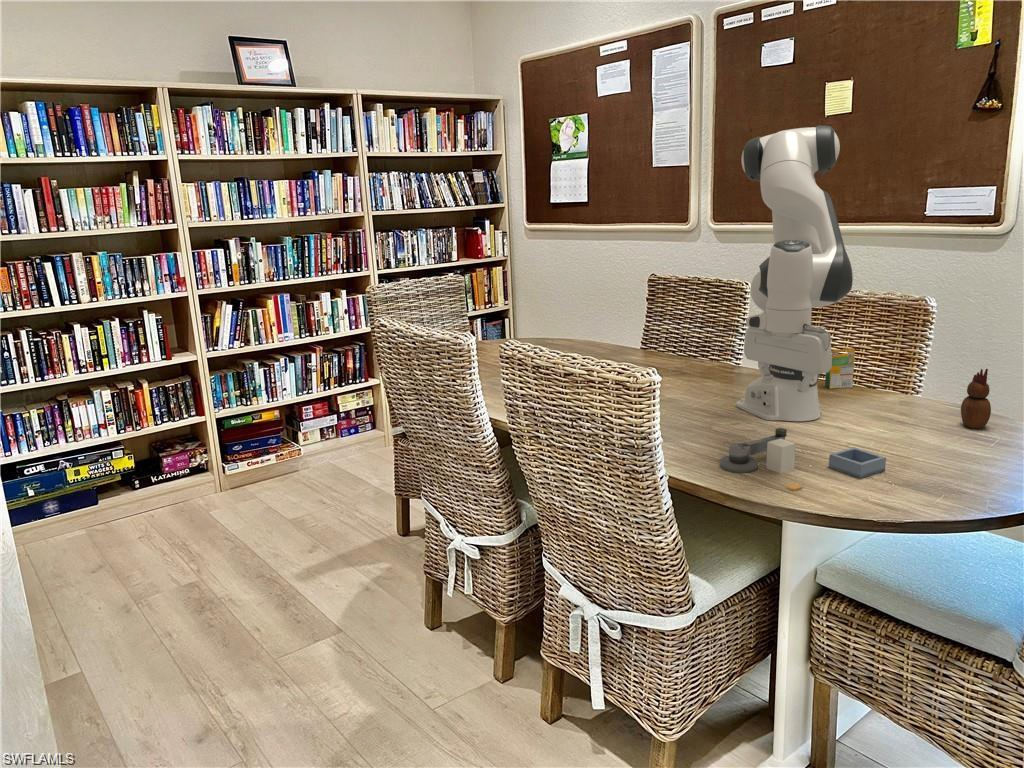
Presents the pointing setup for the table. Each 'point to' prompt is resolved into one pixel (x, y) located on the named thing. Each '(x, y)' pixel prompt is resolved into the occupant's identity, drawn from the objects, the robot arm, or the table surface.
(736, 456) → the crank arm
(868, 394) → the table surface
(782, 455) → the cream block
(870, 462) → the tray
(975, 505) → the table surface
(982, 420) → the wooden figurine
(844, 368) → the crayon box
